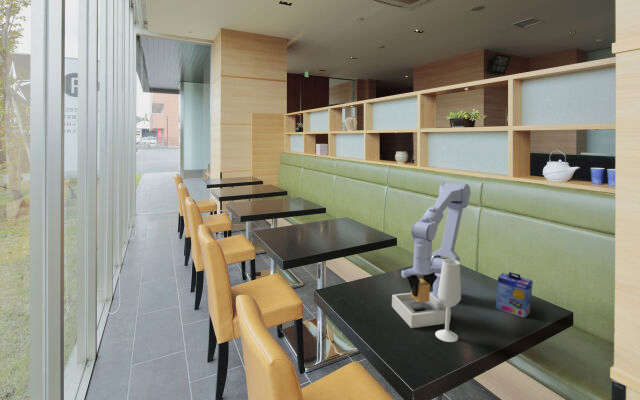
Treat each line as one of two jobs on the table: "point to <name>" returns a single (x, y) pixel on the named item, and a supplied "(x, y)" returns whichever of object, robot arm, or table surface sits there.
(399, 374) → the table surface
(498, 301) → the ink cartridge box
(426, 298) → the light brown rectangular block
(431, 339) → the table surface
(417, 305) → the inlet socket
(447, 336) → the champagne flute
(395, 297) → the walled box
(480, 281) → the table surface
